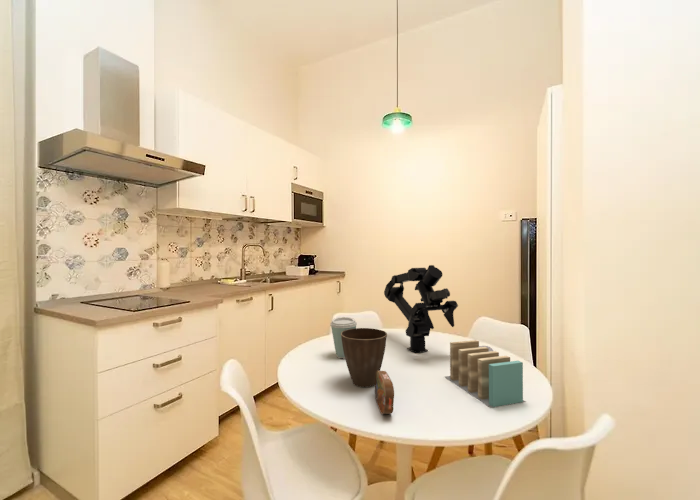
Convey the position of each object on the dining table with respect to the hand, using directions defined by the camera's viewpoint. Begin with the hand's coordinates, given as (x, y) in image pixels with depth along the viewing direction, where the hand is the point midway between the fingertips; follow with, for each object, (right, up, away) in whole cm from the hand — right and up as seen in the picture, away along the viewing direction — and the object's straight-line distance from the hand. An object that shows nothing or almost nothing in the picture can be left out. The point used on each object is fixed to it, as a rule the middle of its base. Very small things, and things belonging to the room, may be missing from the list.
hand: (443, 327), depth 118 cm
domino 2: (+4, -13, -18) cm, 23 cm away
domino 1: (+3, -13, -14) cm, 19 cm away
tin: (-26, -14, -32) cm, 43 cm away
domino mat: (+5, -14, -22) cm, 26 cm away
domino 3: (+5, -13, -23) cm, 27 cm away
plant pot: (-31, -14, -16) cm, 37 cm away
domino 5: (+8, -13, -31) cm, 35 cm away
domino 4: (+7, -13, -27) cm, 31 cm away
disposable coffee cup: (-38, -14, +9) cm, 41 cm away
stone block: (+16, -14, +7) cm, 23 cm away
